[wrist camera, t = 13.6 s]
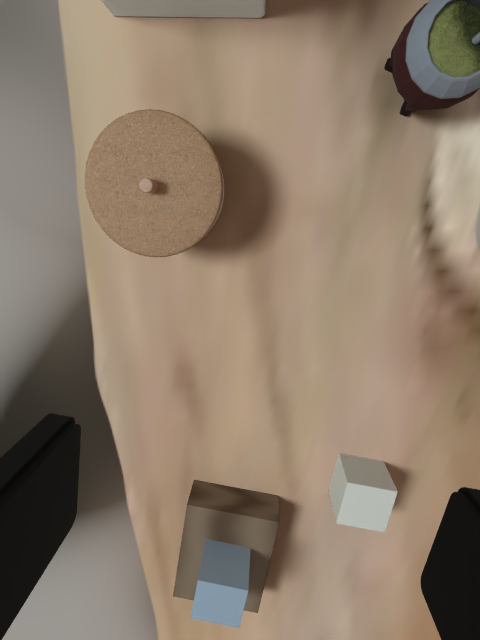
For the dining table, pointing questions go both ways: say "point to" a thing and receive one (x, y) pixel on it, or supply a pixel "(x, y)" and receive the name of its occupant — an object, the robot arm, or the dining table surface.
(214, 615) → the slate blue block
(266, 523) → the walnut base block
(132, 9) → the gable box
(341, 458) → the cream block
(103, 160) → the lidded jar
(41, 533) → the robot arm
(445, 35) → the mate gourd
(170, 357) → the dining table surface
